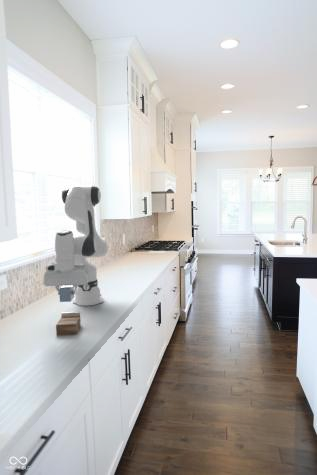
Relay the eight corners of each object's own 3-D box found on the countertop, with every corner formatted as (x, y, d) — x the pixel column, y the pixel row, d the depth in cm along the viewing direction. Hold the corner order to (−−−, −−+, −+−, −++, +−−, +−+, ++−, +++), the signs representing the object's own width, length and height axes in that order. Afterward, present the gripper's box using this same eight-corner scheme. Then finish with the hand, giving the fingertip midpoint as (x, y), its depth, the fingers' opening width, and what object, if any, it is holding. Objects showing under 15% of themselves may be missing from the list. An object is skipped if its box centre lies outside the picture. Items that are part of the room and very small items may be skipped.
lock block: (63, 297, 161) (63, 285, 161) (74, 296, 162) (73, 284, 161) (59, 301, 153) (59, 289, 153) (70, 301, 154) (70, 288, 153)
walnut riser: (62, 326, 166) (61, 312, 165) (80, 325, 166) (80, 311, 166) (56, 335, 154) (55, 320, 153) (76, 334, 154) (75, 319, 154)
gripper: (89, 263, 160) (90, 292, 161) (45, 264, 158) (47, 293, 160) (87, 266, 153) (88, 295, 155) (41, 267, 152) (43, 297, 154)
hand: (67, 294), depth 157 cm, fingers closed on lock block, 5 cm apart
